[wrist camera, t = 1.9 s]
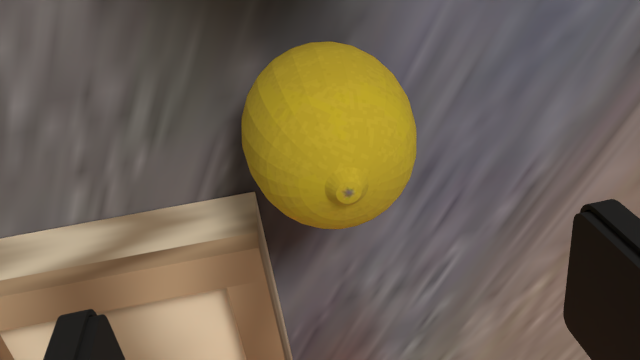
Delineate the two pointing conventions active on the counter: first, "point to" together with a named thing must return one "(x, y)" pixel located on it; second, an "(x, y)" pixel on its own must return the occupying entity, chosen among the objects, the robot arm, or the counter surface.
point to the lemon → (329, 135)
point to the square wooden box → (149, 284)
